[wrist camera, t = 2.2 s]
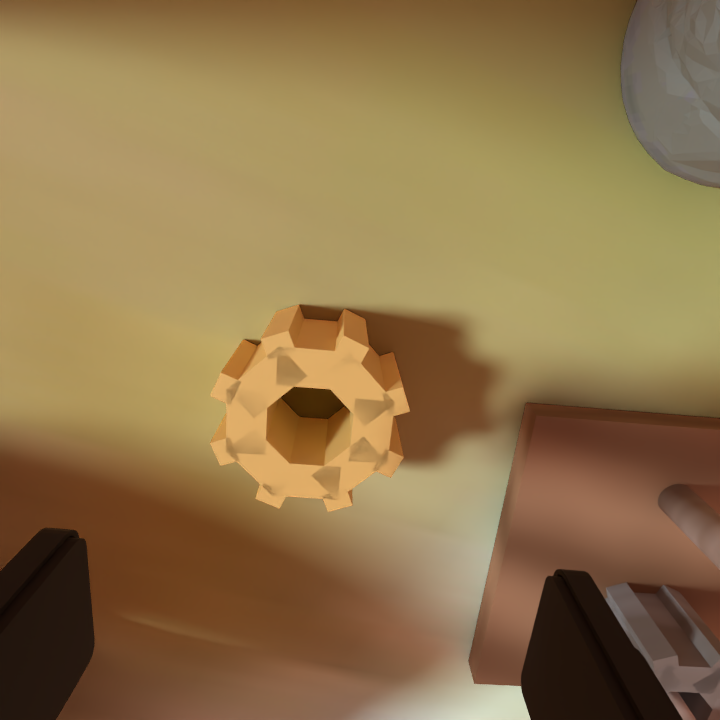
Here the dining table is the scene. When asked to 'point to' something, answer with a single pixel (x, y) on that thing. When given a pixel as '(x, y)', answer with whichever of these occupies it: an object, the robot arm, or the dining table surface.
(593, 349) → the dining table surface
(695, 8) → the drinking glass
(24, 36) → the dining table surface
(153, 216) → the dining table surface
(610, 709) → the robot arm
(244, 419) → the ochre gear
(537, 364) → the dining table surface
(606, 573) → the board
